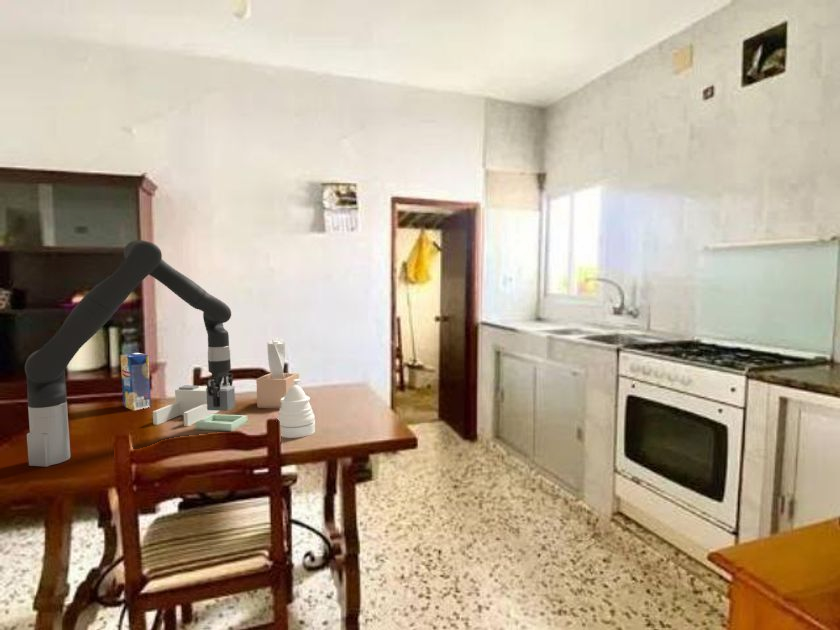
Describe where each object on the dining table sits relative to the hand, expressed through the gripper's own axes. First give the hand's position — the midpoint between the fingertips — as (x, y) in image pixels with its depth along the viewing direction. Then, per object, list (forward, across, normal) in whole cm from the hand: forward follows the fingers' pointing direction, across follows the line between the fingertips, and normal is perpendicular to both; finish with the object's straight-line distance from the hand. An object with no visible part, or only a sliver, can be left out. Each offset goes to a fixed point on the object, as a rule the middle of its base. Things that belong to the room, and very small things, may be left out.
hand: (221, 404), depth 184 cm
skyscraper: (+8, +32, -7) cm, 34 cm away
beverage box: (+8, +20, +51) cm, 55 cm away
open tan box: (+8, +32, -7) cm, 34 cm away
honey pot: (+8, -3, -30) cm, 31 cm away
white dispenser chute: (+8, +8, +19) cm, 22 cm away
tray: (+8, 0, 0) cm, 8 cm away
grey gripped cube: (+1, 0, 0) cm, 1 cm away
